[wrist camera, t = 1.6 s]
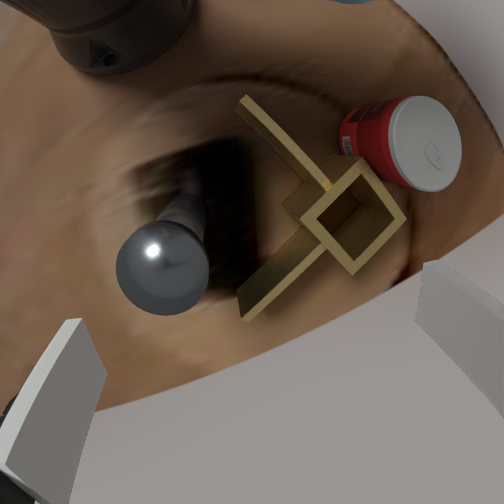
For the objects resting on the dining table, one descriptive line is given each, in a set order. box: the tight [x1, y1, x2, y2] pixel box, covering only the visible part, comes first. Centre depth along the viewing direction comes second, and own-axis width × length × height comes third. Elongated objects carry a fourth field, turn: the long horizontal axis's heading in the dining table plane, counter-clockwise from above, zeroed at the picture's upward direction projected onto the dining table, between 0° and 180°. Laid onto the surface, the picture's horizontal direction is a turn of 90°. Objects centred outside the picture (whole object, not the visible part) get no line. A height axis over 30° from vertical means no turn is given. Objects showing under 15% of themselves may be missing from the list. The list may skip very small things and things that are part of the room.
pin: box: [116, 194, 209, 316], centre depth 22 cm, size 5×5×16 cm
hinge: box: [235, 94, 407, 323], centre depth 27 cm, size 18×18×7 cm
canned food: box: [338, 96, 462, 192], centre depth 24 cm, size 8×8×11 cm
